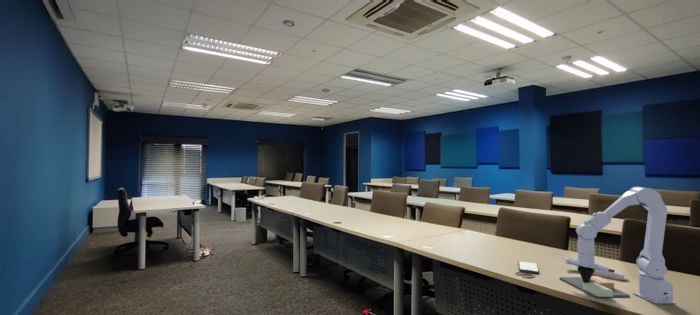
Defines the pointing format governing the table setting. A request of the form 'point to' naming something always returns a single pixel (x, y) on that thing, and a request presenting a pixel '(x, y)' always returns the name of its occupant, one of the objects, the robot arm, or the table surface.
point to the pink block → (602, 282)
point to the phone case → (528, 267)
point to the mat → (578, 284)
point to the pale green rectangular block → (597, 289)
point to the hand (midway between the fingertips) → (586, 285)
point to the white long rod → (610, 274)
